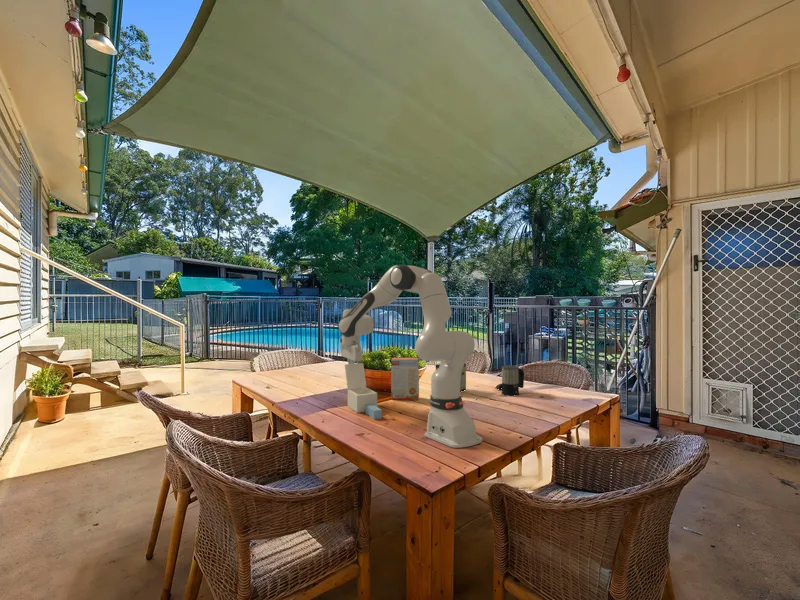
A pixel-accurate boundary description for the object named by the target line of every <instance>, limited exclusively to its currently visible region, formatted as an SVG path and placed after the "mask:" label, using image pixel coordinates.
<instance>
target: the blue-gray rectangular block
mask: <svg viewBox="0 0 800 600" xmlns="http://www.w3.org/2000/svg"><path fill="white" fill-rule="evenodd" d="M364 413H365V414H366V415H367V416H368V415H369V416H368V417H370V418H371V419H372V418H373V420H375V421H376V420H379V419H382V409H381V408H379V407H378V405H377V406H375V405H373V404H368V405H365V412H364Z"/></svg>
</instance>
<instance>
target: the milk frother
mask: <svg viewBox="0 0 800 600" xmlns="http://www.w3.org/2000/svg"><path fill="white" fill-rule="evenodd" d="M524 384H525V371H524V370H523V369H522V368H520V367H519V366H517V365H510V364H509V365H502V366H501V383H499V384H497V385H496V387H495V389H496V388H497V389H499V390H498V391H501V390H502V391H501V395H503V394H504V395H503V396H506V395H509V396H508V397H515V396H514V395H518V396H520V390H519V388H520V389H523V388H524ZM501 388H502V389H501ZM497 389H496V390H497Z"/></svg>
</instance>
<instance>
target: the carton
mask: <svg viewBox="0 0 800 600" xmlns="http://www.w3.org/2000/svg"><path fill="white" fill-rule="evenodd" d="M368 404H373V405H375V406H377V407H378V392H376V391H374V390H372V389H371V388H369V387H361V388H353V389H347V408H349V409H350V410H352V411H353V412H355V413H356V414H361V412H363V413H365V405H368Z"/></svg>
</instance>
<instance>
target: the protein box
mask: <svg viewBox="0 0 800 600" xmlns="http://www.w3.org/2000/svg"><path fill="white" fill-rule="evenodd" d="M440 364H441V363H437V364H435V371H436V370H437V369H438V368H439V366H440ZM464 390H466V391H467V363H466V362H465V364H464V367H463V370H462V373H461V381H460V392H461V391H464ZM464 392H465V391H464ZM461 393H462V392H461Z"/></svg>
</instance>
